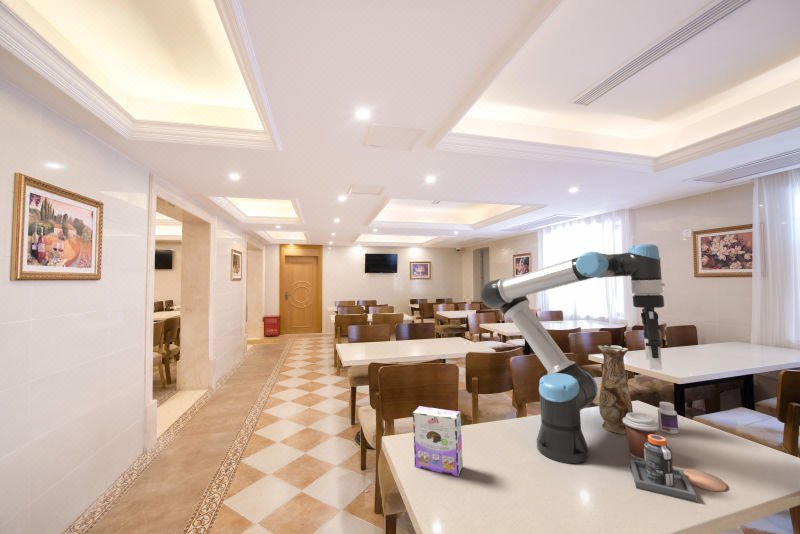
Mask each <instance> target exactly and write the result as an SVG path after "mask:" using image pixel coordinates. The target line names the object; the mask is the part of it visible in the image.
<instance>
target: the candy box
mask: <svg viewBox="0 0 800 534" xmlns="http://www.w3.org/2000/svg"><path fill="white" fill-rule="evenodd" d="M461 417H462V416H461V411H456V410H450V409H443V408H435V407H429V406H421V405H419V406H418V407H417V408H416V409H415V410H414V411H413V412H412V419H413V420H412V425H413V427H412V428H413V449H414V451H413V452H414V467H415V468H418V469H422V470H427V471H433V472H436V473H441V474H445V475H450V476H455V477H460V474H461V472H462V470H463V468H464V464H463V444H462V442H463V440H462V439H463V438H462V421H461V420H462V418H461Z"/></svg>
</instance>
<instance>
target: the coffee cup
mask: <svg viewBox="0 0 800 534" xmlns="http://www.w3.org/2000/svg"><path fill="white" fill-rule="evenodd" d="M622 421H623V423H624V424H625V426H626V432H627V434H626V437H627V442H628V443H627V444H628V450H629V455H630V456H632V457H633V458H634V459H637V460H638V461H641V462H645V452H644V444H645V443H646V442H649V441H648V435H651V434H653V435H657V431H659V430H660V429H659V423H657V422H655V419H654V418H653V417H652V416H650V415H648V414H645V413H641V412H634V411H633V412H630V413H627V414H626V417H624V418H623V419H622Z"/></svg>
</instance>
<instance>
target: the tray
mask: <svg viewBox="0 0 800 534" xmlns="http://www.w3.org/2000/svg"><path fill="white" fill-rule="evenodd" d="M629 466H630V470H631V474H632V477H633V482H634V485H635V489H639V490H642V491H646V492H651V493H655V494H659V495H662V496H667V497H672V498H674V499H675V498H676V499H679V500H684V501H688V502H693V503H696V504H697V503H698V498H697V494H696V492H695V490H694V488H693V485H692V484H690V483H689V481H688V479H687V477H686V475H685V473H684V471H683V469H681V468H680V469H679V468H675V467H673V472H674V485H672V486H663V485H659V484H656V483H654V482H652V481H651V480H649V479H648V478H647V476H646V465H645V461H642V460H635V459H629Z"/></svg>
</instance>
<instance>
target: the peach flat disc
mask: <svg viewBox="0 0 800 534" xmlns="http://www.w3.org/2000/svg"><path fill="white" fill-rule="evenodd" d="M682 470H683V471H684V473H685V475H686V477H687V479H688V481H689V483H690V484H691V486H694V487H696V488H700V489H703V490H706V491H710V492H716V493H717V492H718V493H719V492H724V491H726V490H727V484H726V482H725V481H724V480H722V479H721V478H719V477H718V476H717V475H714V474H711V473H710V472H709V473H708V472H706V471H702V470H700V469H694V468H692V469H691V468H684V469H682Z"/></svg>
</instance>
